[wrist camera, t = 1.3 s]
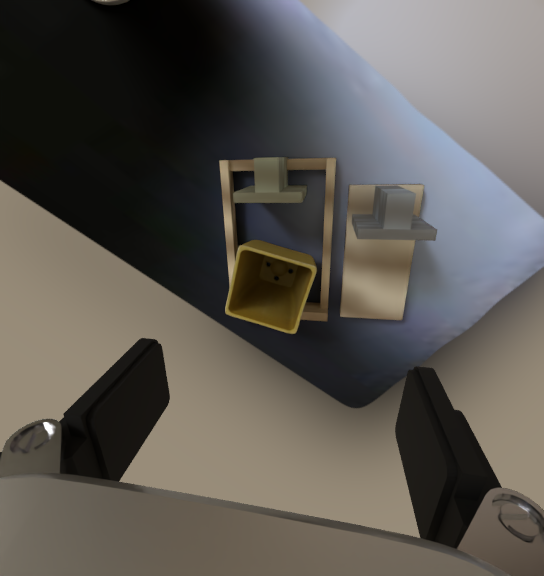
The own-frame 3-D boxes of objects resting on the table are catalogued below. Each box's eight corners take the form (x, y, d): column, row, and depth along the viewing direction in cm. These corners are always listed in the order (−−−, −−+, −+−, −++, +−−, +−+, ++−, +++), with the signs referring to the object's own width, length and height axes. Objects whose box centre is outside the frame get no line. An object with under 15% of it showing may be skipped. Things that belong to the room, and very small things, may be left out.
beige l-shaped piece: (349, 184, 37) (355, 193, 28) (420, 184, 35) (450, 193, 27) (339, 311, 43) (342, 350, 35) (399, 314, 42) (418, 355, 33)
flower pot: (256, 226, 41) (238, 244, 32) (320, 244, 40) (318, 267, 32) (242, 284, 44) (223, 314, 36) (301, 302, 44) (295, 336, 36)
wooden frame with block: (223, 158, 38) (199, 159, 31) (335, 155, 36) (337, 156, 28) (235, 305, 46) (217, 334, 38) (327, 310, 44) (327, 341, 36)
